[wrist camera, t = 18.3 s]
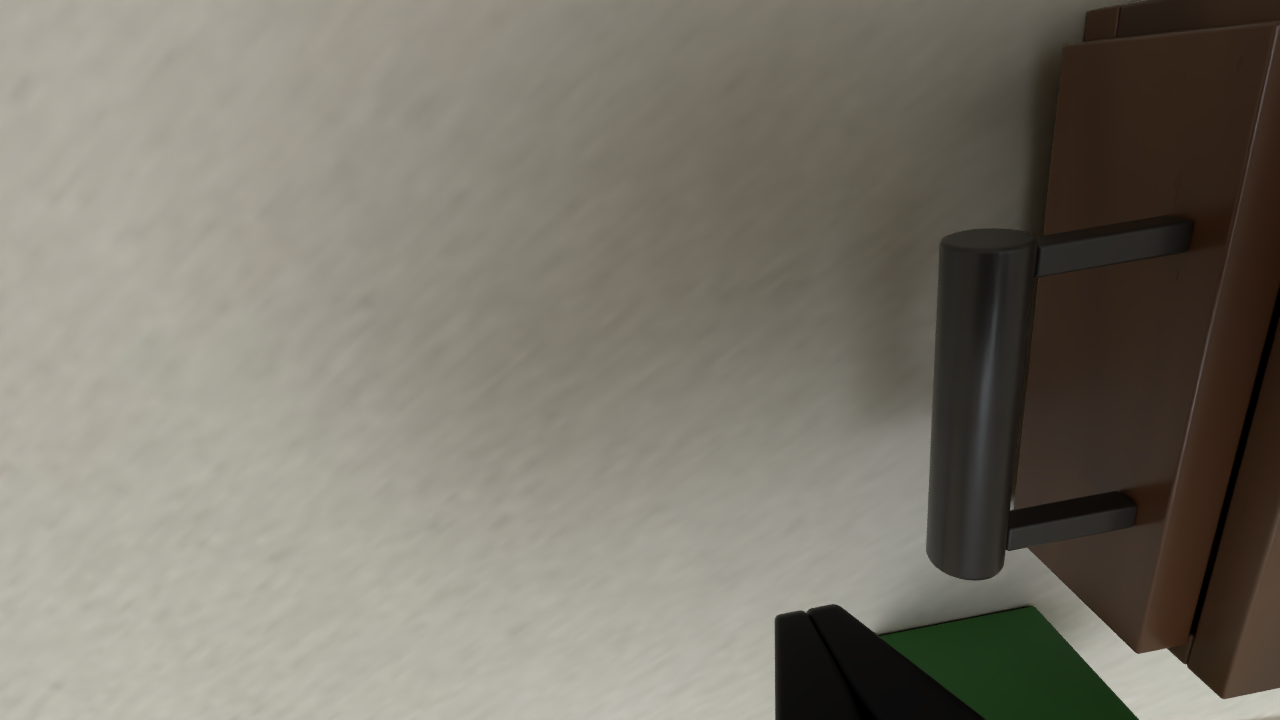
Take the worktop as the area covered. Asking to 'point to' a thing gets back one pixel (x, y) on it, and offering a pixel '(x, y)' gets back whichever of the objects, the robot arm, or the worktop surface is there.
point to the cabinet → (1272, 459)
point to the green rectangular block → (1011, 668)
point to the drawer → (1118, 331)
